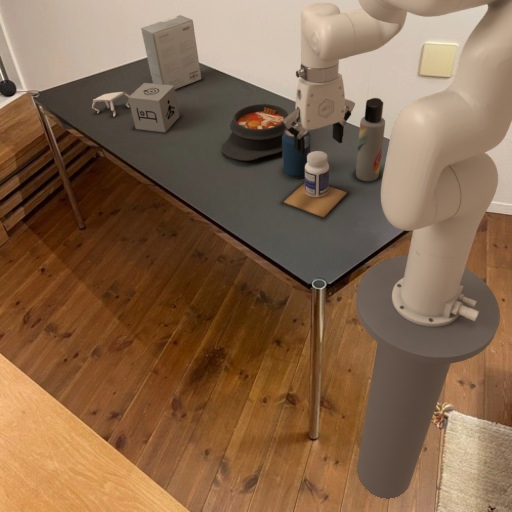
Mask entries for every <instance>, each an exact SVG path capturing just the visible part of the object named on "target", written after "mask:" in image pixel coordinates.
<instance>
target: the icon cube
mask: <svg viewBox="0 0 512 512" xmlns="http://www.w3.org/2000/svg"><path fill="white" fill-rule="evenodd" d="M127 100H128V101H129V103H128V105H129V108H130V111H131V115H132V120H133V123H134V128H135V130H141V131H150V132H158V133H159V132H160V133H166V132H167V131H168V130H169V129H170V128H171V127H172V125H174V123H175V122H176V121H177V120H178V119H179V118H180V111H179V105H178V99H177V93H176V89H175V88H174V86H172V85H162V84H153V83H149V82H143V84H141V85H140V86H139V87H138V88H137V89H135V90H134V92H132V93H131V94H130V95H129V97H127Z"/></svg>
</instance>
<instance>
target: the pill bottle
mask: <svg viewBox="0 0 512 512" xmlns="http://www.w3.org/2000/svg"><path fill="white" fill-rule="evenodd" d="M328 159H329V158H328V154H327V153H326V152H325V151H321V150H315V151H310V153H309V154H308V156H307V163H306V165H305V176H304V183H305V192H306V194H307V195H309V196H311V197H322V196H325V195H326V194H327V193H328V190H329V186H330V165H329V162H328Z"/></svg>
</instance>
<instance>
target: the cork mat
mask: <svg viewBox="0 0 512 512" xmlns="http://www.w3.org/2000/svg"><path fill="white" fill-rule="evenodd" d="M346 195H348V192H347V191H344V190H341V189H339V188H335V187H333V186H330V185H329V190H328V193H327V194H326V195H325V196H322V197H311V196H309V195H307V194H306V192H305V182H303V183H302V184H301V185H300V186H299V187H298V188H297V189H296V190H294V192H292V193H291V194H290V195H289V196H288V197H287V198H286V199H285V200H284V201H283V203H284V204H287V205H289V206H292V207H295V208H297V209H300V210H302V211H305V212H307V213H310V214H312V215H315V216H318V217H321V218H322V219H324V218H325V217H326V216H327V215H328V214H329V213H330V212H331V211H332V210H333V209H334V208H335V207H336V206H337V205H338V204H339V202H341V201H342V200H343V199H344V198H345V197H346Z"/></svg>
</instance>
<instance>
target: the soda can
mask: <svg viewBox="0 0 512 512" xmlns="http://www.w3.org/2000/svg"><path fill="white" fill-rule="evenodd" d="M294 126H295V125H292V127H293V128H294ZM301 127H302V126H301ZM300 129H301V128H300ZM300 129H299V130H300ZM302 137H303V138H304V139H305V153H304V154H302V155H301V154H300V153H299V152H298V151H297V150H296V149H295V148H294V135H292V134H291V133H290V132H289V131H287V129H285V130H284V134H283V136H282V151H281V153H282V170H283V172H284V174H285V175H286V176H287V177H288V178H291V179H302V178H305V165H306V163H307V156H308V154H309V153H311V134H310V132H309V130H306V132H305V133H304V135H303V136H302Z"/></svg>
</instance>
